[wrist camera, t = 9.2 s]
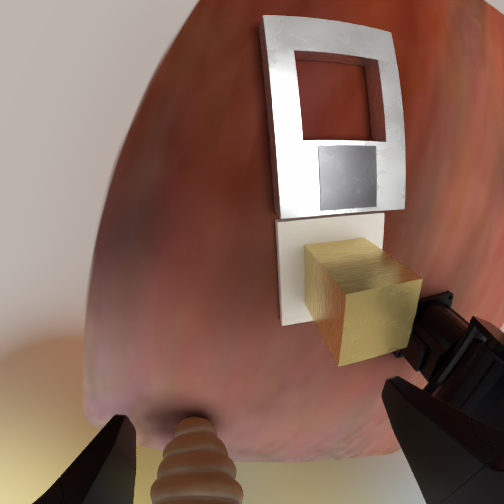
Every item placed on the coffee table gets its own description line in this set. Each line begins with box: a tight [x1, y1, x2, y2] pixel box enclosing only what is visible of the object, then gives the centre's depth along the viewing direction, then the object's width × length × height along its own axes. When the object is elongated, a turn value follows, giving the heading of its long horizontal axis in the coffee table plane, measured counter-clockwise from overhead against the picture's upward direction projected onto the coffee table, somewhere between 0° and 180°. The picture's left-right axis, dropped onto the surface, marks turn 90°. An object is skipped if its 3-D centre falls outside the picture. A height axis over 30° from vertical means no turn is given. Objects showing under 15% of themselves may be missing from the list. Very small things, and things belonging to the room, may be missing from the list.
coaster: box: [275, 211, 384, 326], centre depth 20 cm, size 8×8×1 cm
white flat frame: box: [258, 15, 406, 219], centre depth 16 cm, size 9×13×2 cm
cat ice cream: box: [150, 417, 243, 504], centre depth 17 cm, size 9×8×18 cm
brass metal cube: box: [304, 238, 423, 367], centre depth 17 cm, size 5×5×7 cm
